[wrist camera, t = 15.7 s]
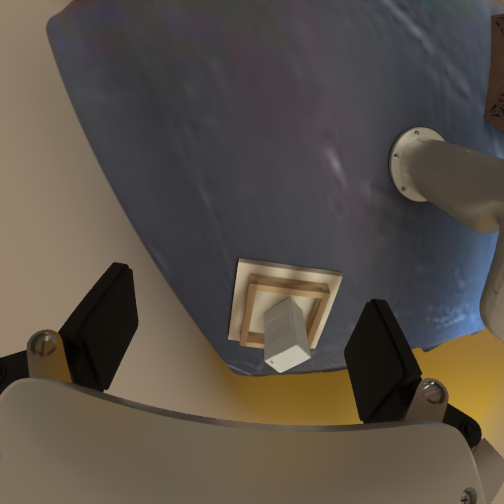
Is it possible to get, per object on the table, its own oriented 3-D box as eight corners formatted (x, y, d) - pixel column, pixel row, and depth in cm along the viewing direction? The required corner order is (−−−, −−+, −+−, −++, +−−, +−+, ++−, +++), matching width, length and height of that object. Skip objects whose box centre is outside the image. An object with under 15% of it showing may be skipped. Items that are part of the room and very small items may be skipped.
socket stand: (340, 272, 48) (346, 286, 44) (314, 343, 56) (316, 359, 52) (239, 257, 47) (236, 271, 43) (228, 334, 56) (226, 349, 52)
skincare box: (277, 325, 52) (279, 374, 42) (263, 311, 51) (262, 361, 40) (303, 309, 50) (311, 358, 40) (290, 295, 49) (296, 344, 38)
